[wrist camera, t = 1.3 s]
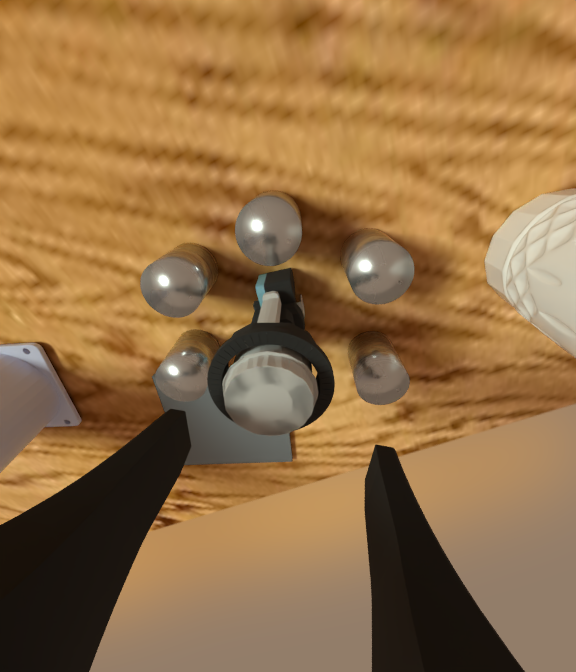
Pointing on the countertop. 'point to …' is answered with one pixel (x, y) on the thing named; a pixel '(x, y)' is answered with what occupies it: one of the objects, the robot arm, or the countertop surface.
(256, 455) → the mat
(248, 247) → the cylinder
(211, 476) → the countertop surface
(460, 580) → the robot arm
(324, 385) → the push button
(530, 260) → the white cup
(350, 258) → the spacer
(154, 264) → the cylinder
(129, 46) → the countertop surface
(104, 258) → the countertop surface
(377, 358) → the cylinder
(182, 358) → the cylinder
